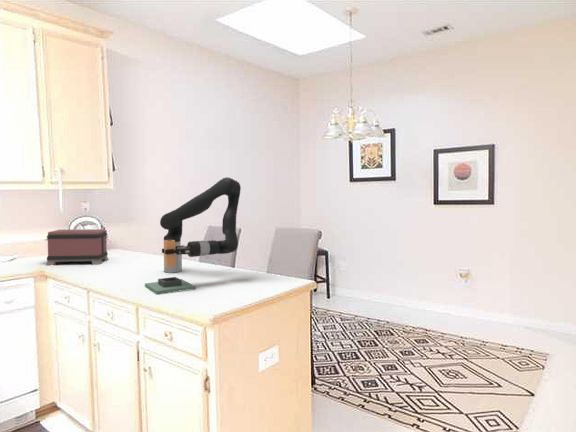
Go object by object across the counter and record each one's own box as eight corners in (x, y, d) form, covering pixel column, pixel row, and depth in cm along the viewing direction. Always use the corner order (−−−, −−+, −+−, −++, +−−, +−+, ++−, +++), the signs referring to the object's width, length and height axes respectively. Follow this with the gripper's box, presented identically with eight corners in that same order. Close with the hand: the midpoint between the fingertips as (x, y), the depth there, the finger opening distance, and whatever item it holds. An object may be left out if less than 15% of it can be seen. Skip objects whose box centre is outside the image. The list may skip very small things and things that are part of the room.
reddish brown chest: (54, 260, 263) (53, 229, 262) (108, 259, 268) (108, 229, 267) (40, 265, 244) (39, 232, 243) (99, 264, 249) (99, 231, 248)
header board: (181, 282, 202) (181, 274, 202) (195, 289, 187) (195, 280, 187) (144, 286, 192) (144, 278, 191) (156, 294, 177) (156, 285, 177)
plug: (172, 264, 192) (172, 238, 191) (175, 266, 188) (175, 239, 188) (164, 265, 189) (163, 239, 189) (167, 266, 186) (166, 239, 185)
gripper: (192, 239, 202) (158, 242, 192) (204, 242, 191) (168, 245, 181) (193, 254, 203) (159, 257, 193) (204, 258, 191) (169, 261, 181)
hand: (163, 251), depth 187 cm, fingers closed on plug, 4 cm apart
